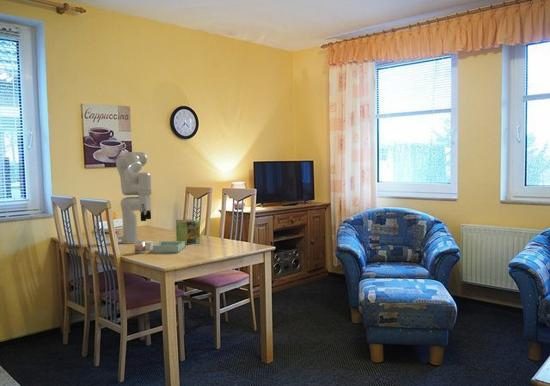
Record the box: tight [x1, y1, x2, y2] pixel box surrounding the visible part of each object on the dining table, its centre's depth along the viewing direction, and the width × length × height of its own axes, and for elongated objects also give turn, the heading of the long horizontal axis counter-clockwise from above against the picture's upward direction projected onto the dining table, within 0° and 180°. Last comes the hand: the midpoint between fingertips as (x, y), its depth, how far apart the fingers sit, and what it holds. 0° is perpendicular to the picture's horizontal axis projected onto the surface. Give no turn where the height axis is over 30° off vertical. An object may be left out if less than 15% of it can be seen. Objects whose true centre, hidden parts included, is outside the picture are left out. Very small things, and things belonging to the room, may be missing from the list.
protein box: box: [175, 218, 201, 246], centre depth 324 cm, size 10×15×16 cm
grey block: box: [144, 240, 155, 251], centre depth 302 cm, size 6×6×5 cm
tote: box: [152, 240, 186, 254], centre depth 297 cm, size 16×16×4 cm
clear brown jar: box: [133, 240, 146, 255], centre depth 290 cm, size 6×6×7 cm
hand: (145, 220), depth 293 cm, fingers open, 9 cm apart
